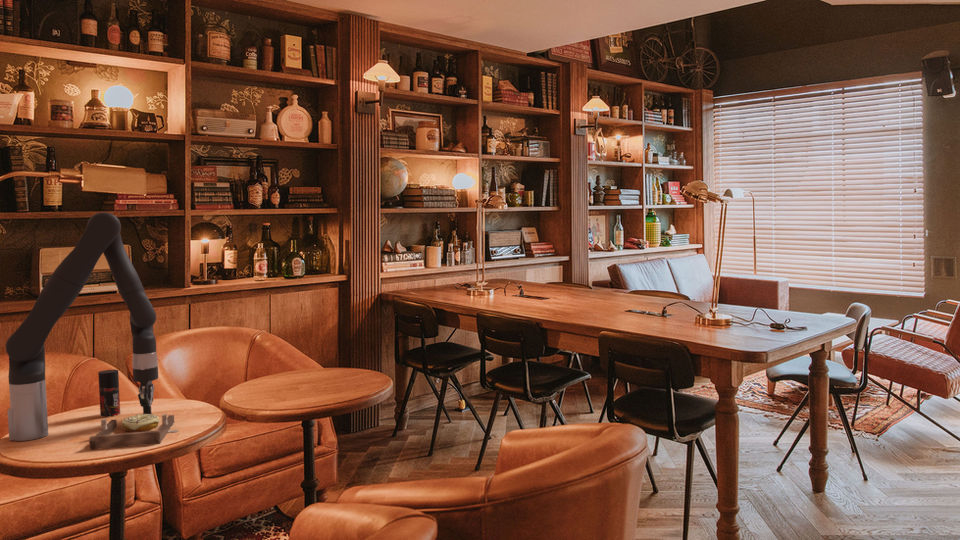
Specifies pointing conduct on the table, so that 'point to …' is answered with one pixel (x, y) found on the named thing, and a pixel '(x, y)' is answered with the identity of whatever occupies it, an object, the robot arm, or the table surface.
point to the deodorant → (109, 392)
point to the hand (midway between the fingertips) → (147, 417)
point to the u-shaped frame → (129, 435)
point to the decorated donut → (140, 422)
